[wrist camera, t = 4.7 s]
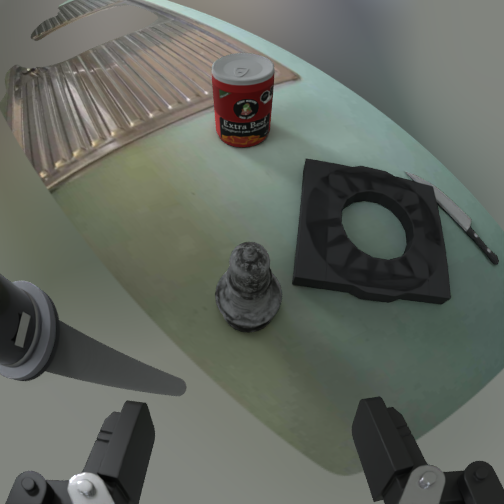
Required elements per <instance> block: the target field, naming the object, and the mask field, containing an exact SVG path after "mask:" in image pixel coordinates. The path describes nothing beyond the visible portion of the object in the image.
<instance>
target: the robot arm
mask: <svg viewBox="0 0 504 504" xmlns="http://www.w3.org/2000/svg"><path fill="white" fill-rule="evenodd" d="M41 325H42V323H41V314H40V310H39V307H38V304H37V302H36V301H35V299H34V298H33V297H32V296H31V295H30V294H29V293H27V292H26V291H25V290H23V289H21V288H19V287H17V286H16V285H14V284H13V283H12V282H11V281H9V280H8V279H6V278H5V277H4V276H2V275H1V274H0V365H3V366H6V367H11V368H14V367H19V366H21V365H23V364H25V363H26V362H27V361H28V360H29V359H30V358H31V357H32V355H33V354H34V352H35V350H36V348H37V346H38V343H39V340H40V335H41ZM352 436H353V440H354V443H355V446H356V449H357V452H358V455H359V458H360V461H361V464H362V467H363V470H364V473H365V476H366V479H367V482H368V485H369V488H370V491H371V494H372V498H373V501H374V502H376V501H380V500H384V503H385V504H504V489H503V487H502V485H501V483H500V481H499V479H498V477H497V475H496V473H495V471H494V469H493V468H492V466H491V465H489V464H488V463H486V462H484V461H475V462H473V463H471V464H469V465H468V467H467V468H466V469H465V470H464V471H453V472H442V471H441V470H440V469H439V468H438V467H435V466H433V465H428V464H427V463H426V461H425V459H424V457H423V455H422V453H421V451H420V449H419V447H418V445H417V443H416V441H415V439H414V437H413V435H412V434H411V431H410V429H409V427H407V424H406V422H405V420H404V418H403V416H402V414H400V413H399V412H398V411H397V410H396V409H394V408H393V407H390V408H387V407H386V405H385V403H384V401H383V399H382V398H381V397H374V398H367V399H361V400H360V403H359V406H358V409H357V412H356V415H355V418H354V421H353V425H352ZM154 440H155V430H154V425H153V422H152V419H151V416H150V412H149V409H148V406H147V404H146V403H142V402H135V401H126V402H125V404H124V406H123V408H122V411H121V413H120V412H113V413H112V414H111V415H110V416H109V417H108V418H106V419H105V421H104V423H103V425H102V427H101V430H100V432H99V434H98V437H97V440H96V441H95V443H94V446H93V448H92V451H91V453H90V456H89V458H88V460H87V462H86V465H85V467H84V469H83V471H82V472H81V473H79V474H76V475H75V476H74V477H72V478H71V479H70V480H66V481H59V480H45V479H44V477H43V476H41V474H39V473H37V472H34V471H26V472H23V473H21V474H20V475H19V476H18V477H17V478H16V480H15V482H14V484H13V487H12V489H11V491H10V494H9V496H8V499H7V501H6V504H139V500H140V496H141V491H142V487H143V483H144V479H145V475H146V471H147V467H148V464H149V460H150V456H151V452H152V448H153V444H154Z"/></svg>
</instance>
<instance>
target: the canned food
mask: <svg viewBox="0 0 504 504" xmlns="http://www.w3.org/2000/svg"><path fill="white" fill-rule="evenodd" d="M212 85H213V98H214V110H215V121H216V131H217V133H218V135H219V137H220V139H221V140H222V141H223V142H225V143H226V144H228V145H231V146H234V147H250V146H254V145H257V144H259V143H261V142H262V141H263V140H264V139H265V138H266V137H267V135H268V133H269V130H270V122H271V110H272V98H273V86H274V64H273V63H272V61H271V60H269V59H268V58H266V57H264V56H261V55H257V54H251V53H236V54H230V55H227V56H224V57H221V58H220V59H218V60H216V61H215V62H214V64H213V65H212Z"/></svg>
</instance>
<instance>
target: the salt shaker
mask: <svg viewBox="0 0 504 504" xmlns="http://www.w3.org/2000/svg"><path fill="white" fill-rule="evenodd" d="M229 264H230V266H229V268H228V270H227V272H226V273H224V275H223V276H222V277H221V278H220V280H219V282H218V284H217V287H216V293H215V297H216V304H217V306H218V308H219V310H220V312H221V313H222V314H223V316H224V318H225V320H226V321H227V323H228V324H229V325H230V326H232V327H233V328H234V329H236V330H239V331H242V332H255V331H258V330H260V329H263V328H264V327H265V326H267V325H268V324H269V322H270V321H271V320H272V318H273V317H274V315H275V314H276V313H277V311H278V310H279V307H280V304H281V302H282V290H281V285H280V283H279V281H278V280H277V278H276V277H275V276H274V274H273V273H272V272H271V269H270V258H269V254H268V253H267V251H266V249H265V248H264V247H263V246H261V245H260V244H257V243H255V242H245V243H242V244H240V245H238V246H237V247H236V248H235V249H234V250H233V251H232V254H231V256H230V261H229Z"/></svg>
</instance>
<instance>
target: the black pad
mask: <svg viewBox="0 0 504 504" xmlns="http://www.w3.org/2000/svg"><path fill="white" fill-rule="evenodd" d="M359 201H370V202H375V203H379V204H381V205H382V206H384V207H386V208H388V209H390V210H391V211H392V212H393V213H394V214H395V215H396V216H397V218H398V219H399V220H400V221H401V223H402V225H403V227H404V229H405V231H406V238H407V246H406V249H405V252H404V254H403V255H402V256H401V257H398V258H394V259H390V260H386V259H380V258H373V257H371V256H370V255H368V254H366V253H364V252H362V251H361V250H359V249H358V248H357V247H356V246H355V245H354V244H353V243H352V242H351V241H350V239H349V238H348V237H347V235H346V232H345V230H344V228H343V225H342V223H341V222H342V210H343V209H344V208H345V207H347V206H348V205H350V204H351V203H353V202H359ZM292 284H293V285H300V286H307V287H314V288H322V289H328V290H335V291H342V292H349V293H350V294H352V295H354V296H356V297H358V298H360V299H365V300H373V301H381V302H392V301H395V300H398V299H403V300H411V301H419V302H428V303H437V304H443V303H444V302H446V301H447V300H449V299H450V298H451V295H450V284H449V274H448V266H447V258H446V251H445V244H444V238H443V232H442V227H441V221H440V216H439V211H438V206H437V201H436V197H435V192H434V188H433V186H430V185H426V184H423V183H419V182H414V181H411V180H407V179H403V178H399V177H395V176H393V175H391V174H390V173H388V172H386V171H382V170H378V169H373V168H369V167H364V166H357V167H350V166H345V165H340V164H334V163H329V162H323V161H318V160H312V159H306V161H305V165H304V171H303V183H302V195H301V206H300V217H299V227H298V237H297V246H296V255H295V264H294V273H293V282H292Z"/></svg>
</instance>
